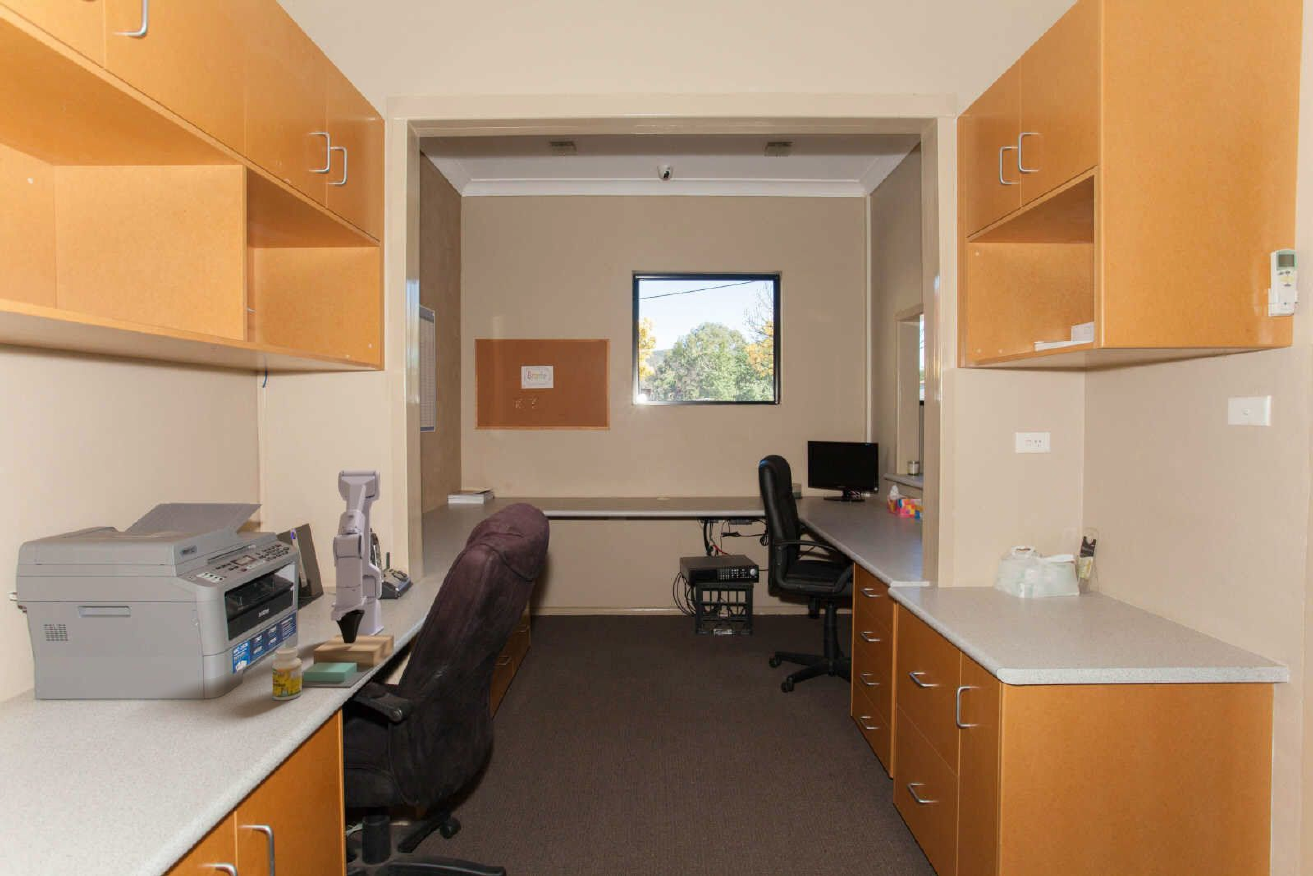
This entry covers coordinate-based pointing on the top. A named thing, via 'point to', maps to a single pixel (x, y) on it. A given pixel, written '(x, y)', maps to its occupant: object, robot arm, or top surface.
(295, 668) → the supplement bottle
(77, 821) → the top surface
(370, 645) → the wooden block
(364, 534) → the robot arm
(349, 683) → the mat
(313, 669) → the mint green block
